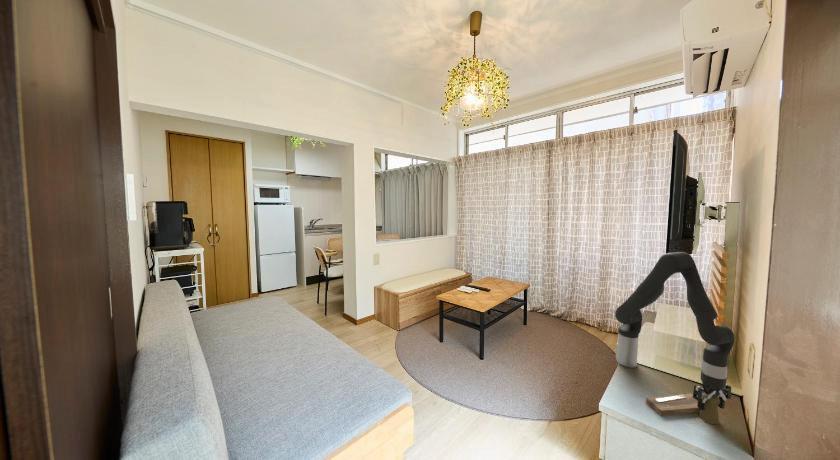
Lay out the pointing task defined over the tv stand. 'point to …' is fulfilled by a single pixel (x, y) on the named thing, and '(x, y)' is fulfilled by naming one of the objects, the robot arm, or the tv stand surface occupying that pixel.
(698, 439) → the tv stand surface
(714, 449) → the tv stand surface
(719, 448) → the tv stand surface
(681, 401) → the walnut board
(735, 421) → the tv stand surface
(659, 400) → the steel ruler
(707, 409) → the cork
